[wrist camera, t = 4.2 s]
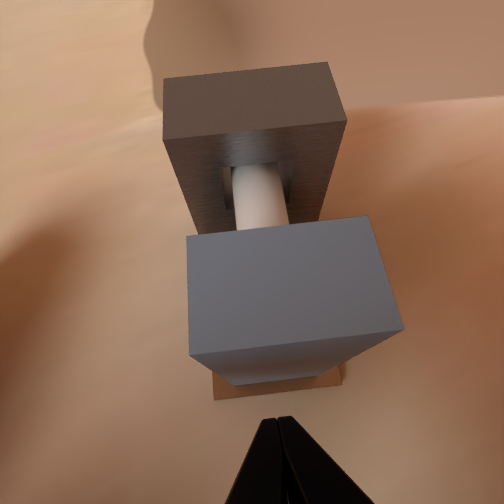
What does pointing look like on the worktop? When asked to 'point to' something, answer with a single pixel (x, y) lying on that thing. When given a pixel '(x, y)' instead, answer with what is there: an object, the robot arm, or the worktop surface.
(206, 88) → the bearing block
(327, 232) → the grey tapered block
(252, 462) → the robot arm
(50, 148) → the worktop surface
